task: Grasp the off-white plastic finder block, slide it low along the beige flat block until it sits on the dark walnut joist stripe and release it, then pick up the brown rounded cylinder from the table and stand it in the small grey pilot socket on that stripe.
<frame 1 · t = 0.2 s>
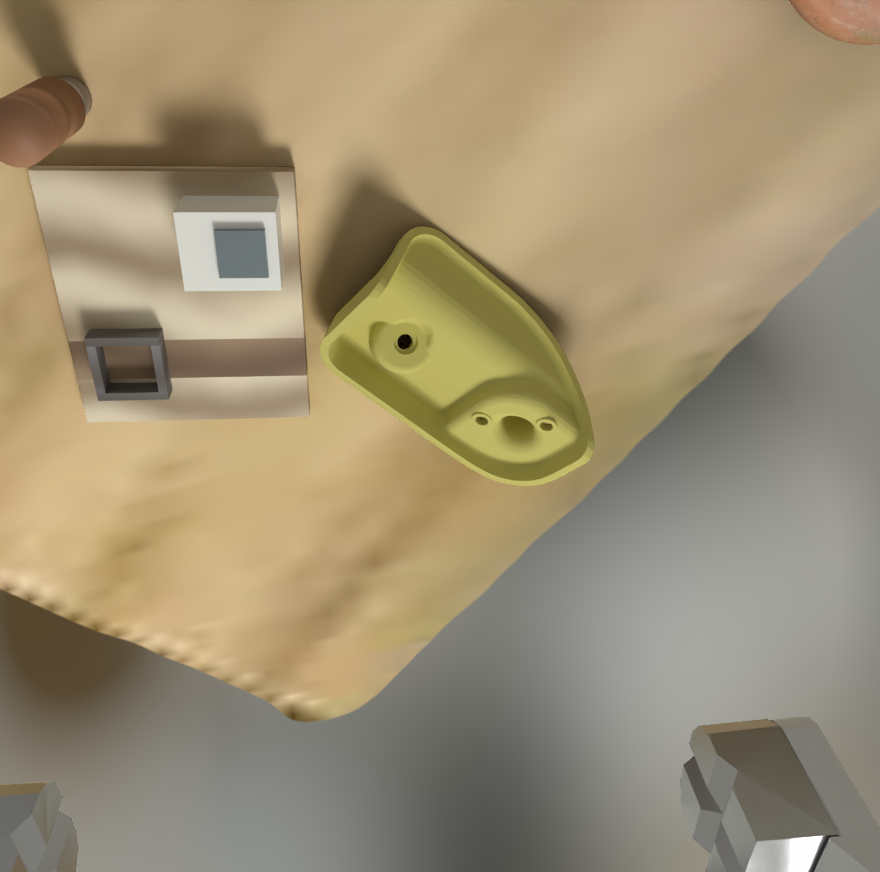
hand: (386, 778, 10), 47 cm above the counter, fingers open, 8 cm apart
beige flat block: (185, 299, 56), on the counter
brown rounded cylinder: (70, 97, 48), on the counter
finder: (235, 234, 53), point 1 cm above the counter, touching beige flat block
plastic component: (456, 354, 61), on the counter
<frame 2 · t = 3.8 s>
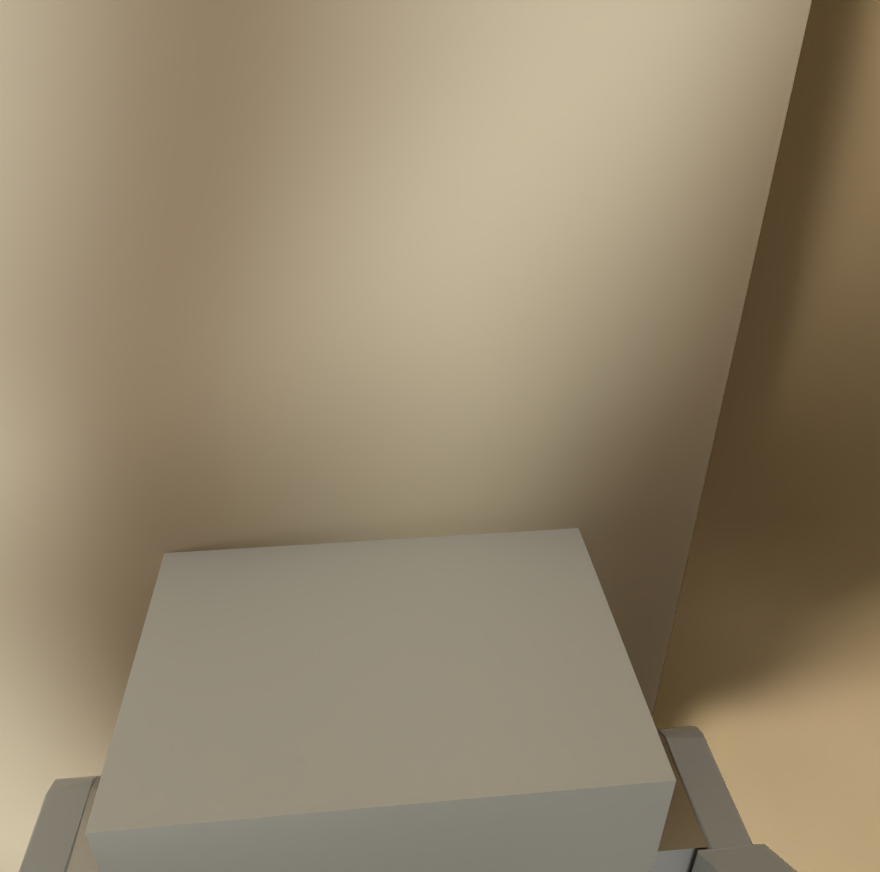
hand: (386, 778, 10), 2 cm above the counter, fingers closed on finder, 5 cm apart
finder: (384, 704, 11), point 1 cm above the counter, touching gripper, beige flat block
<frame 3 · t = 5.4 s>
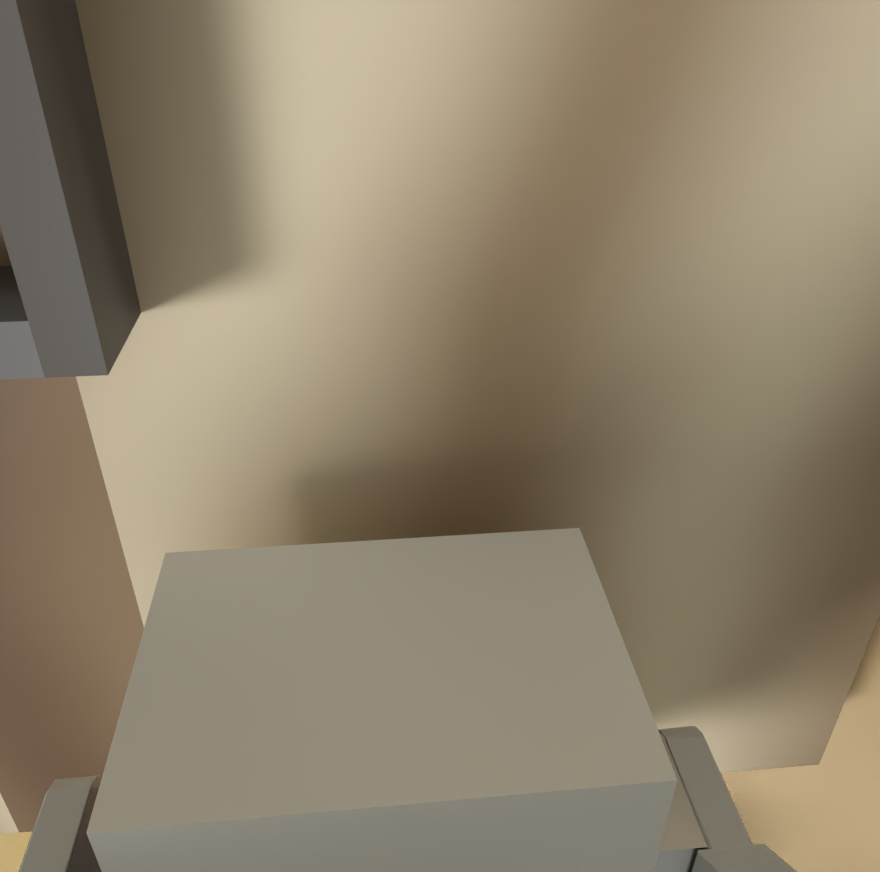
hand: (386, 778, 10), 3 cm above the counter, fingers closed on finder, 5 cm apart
beige flat block: (301, 380, 11), on the counter
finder: (384, 704, 11), point 2 cm above the counter, touching gripper
when the fingers open (3 cm above the counter, at t = 7.4 s): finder stays where it is, resting on beige flat block.
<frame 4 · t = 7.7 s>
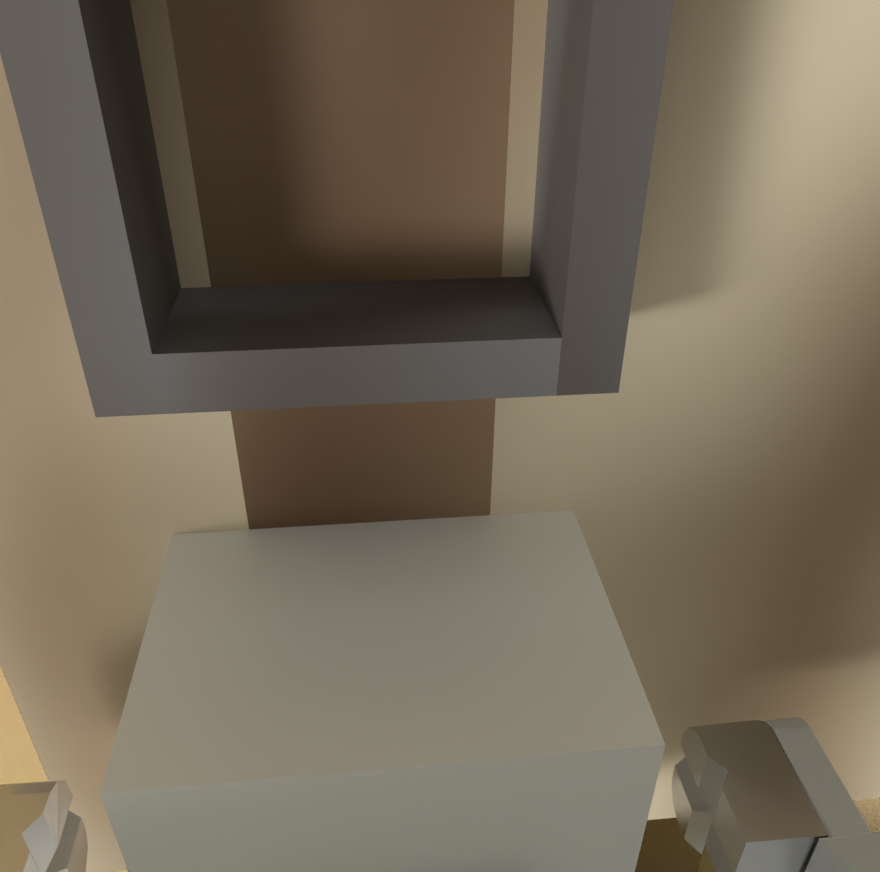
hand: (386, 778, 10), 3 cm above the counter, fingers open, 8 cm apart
beige flat block: (662, 392, 11), on the counter
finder: (384, 684, 12), point 1 cm above the counter, touching beige flat block
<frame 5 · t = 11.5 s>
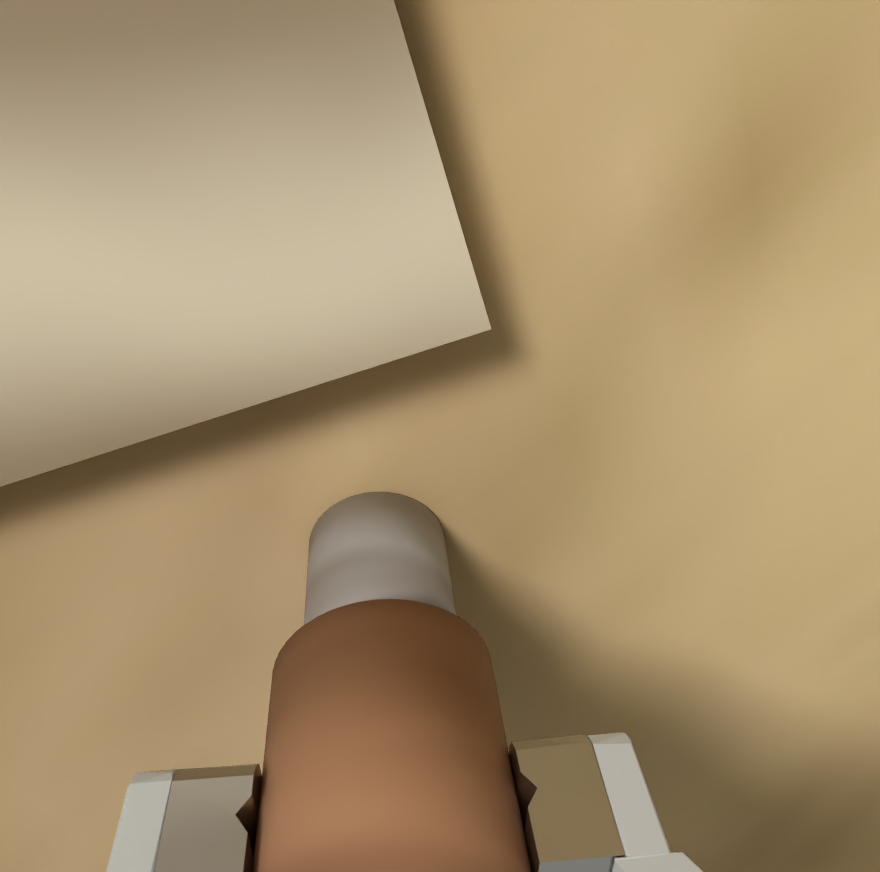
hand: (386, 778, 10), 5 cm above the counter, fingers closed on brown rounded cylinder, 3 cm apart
brown rounded cylinder: (377, 546, 14), on the counter, touching gripper
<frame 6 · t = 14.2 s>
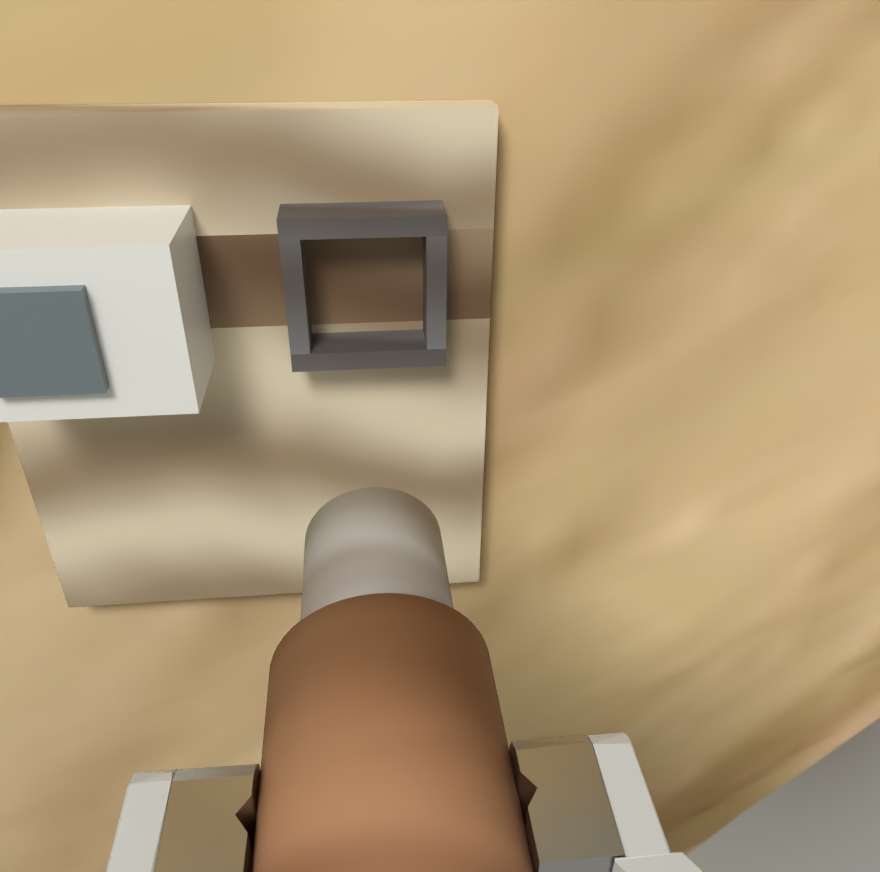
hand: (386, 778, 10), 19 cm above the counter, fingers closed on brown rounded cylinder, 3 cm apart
beige flat block: (254, 378, 28), on the counter
brown rounded cylinder: (373, 542, 14), point 14 cm above the counter, touching gripper
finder: (103, 289, 25), point 1 cm above the counter, touching beige flat block
when the fingers open (7 cm above the counter, at t = 16.6 s): brown rounded cylinder stays where it is, resting on beige flat block.
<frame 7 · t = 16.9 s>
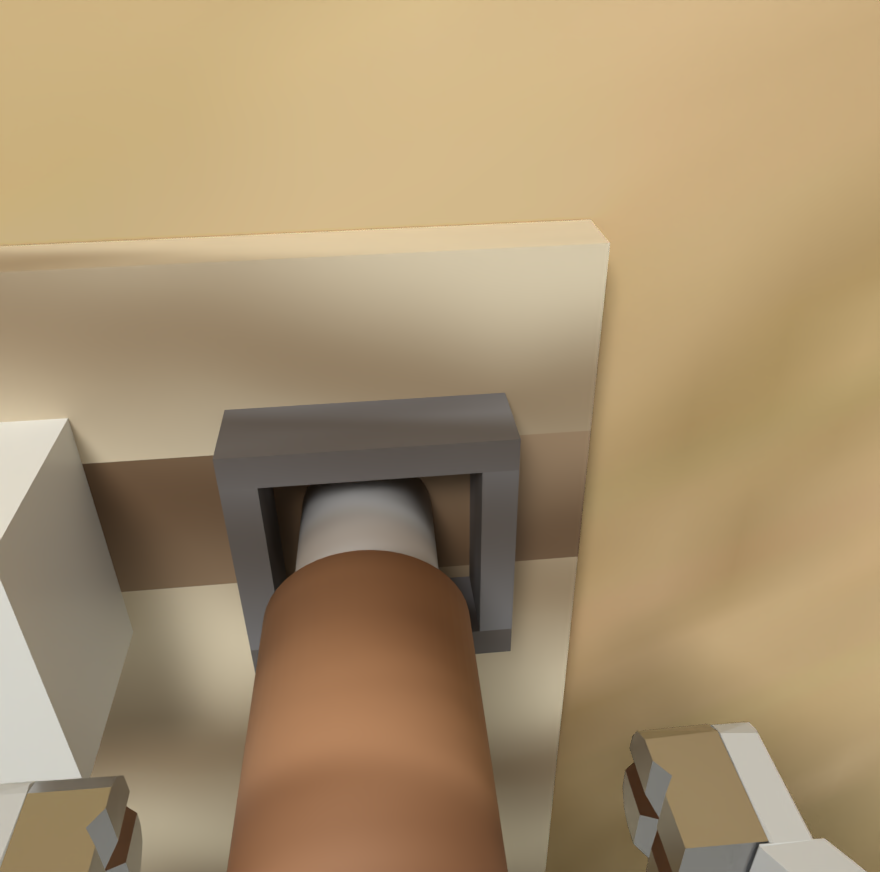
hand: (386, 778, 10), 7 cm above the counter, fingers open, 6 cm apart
beige flat block: (203, 633, 18), on the counter
brown rounded cylinder: (367, 510, 15), point 1 cm above the counter, touching beige flat block
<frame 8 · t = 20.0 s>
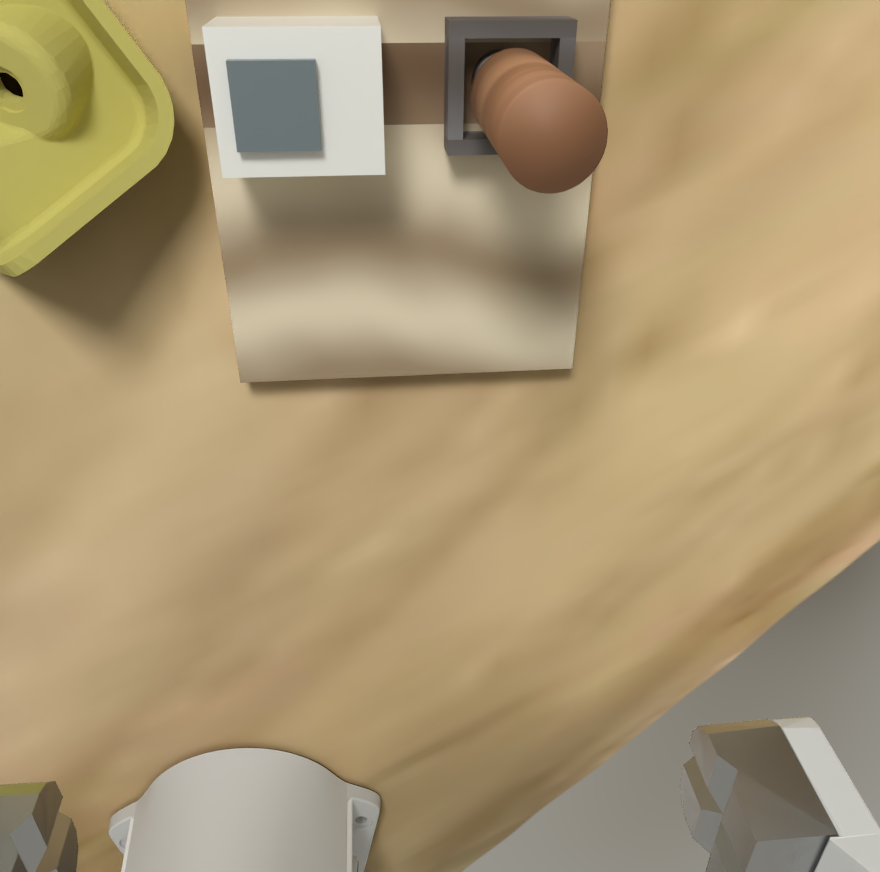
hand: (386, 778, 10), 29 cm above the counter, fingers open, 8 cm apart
beige flat block: (404, 179, 35), on the counter
brown rounded cylinder: (500, 81, 32), point 1 cm above the counter, touching beige flat block
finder: (303, 87, 32), point 1 cm above the counter, touching beige flat block
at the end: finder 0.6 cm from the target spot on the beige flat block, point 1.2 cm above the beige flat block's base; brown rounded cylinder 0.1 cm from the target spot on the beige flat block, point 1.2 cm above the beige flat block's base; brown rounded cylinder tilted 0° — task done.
